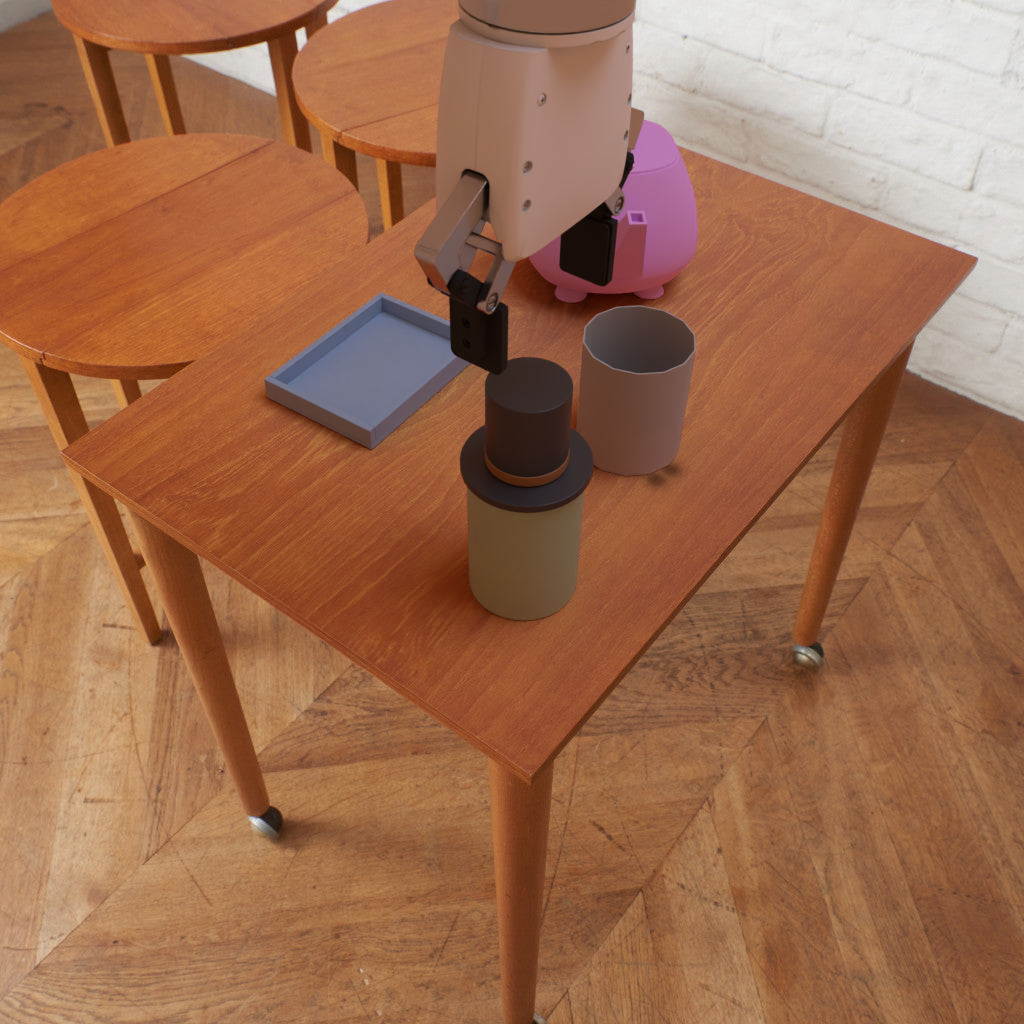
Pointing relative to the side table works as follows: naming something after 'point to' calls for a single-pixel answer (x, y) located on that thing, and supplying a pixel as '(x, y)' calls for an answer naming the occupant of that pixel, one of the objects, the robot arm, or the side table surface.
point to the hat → (527, 441)
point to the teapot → (641, 226)
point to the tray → (369, 370)
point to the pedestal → (523, 558)
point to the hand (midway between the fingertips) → (534, 317)
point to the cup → (634, 388)
